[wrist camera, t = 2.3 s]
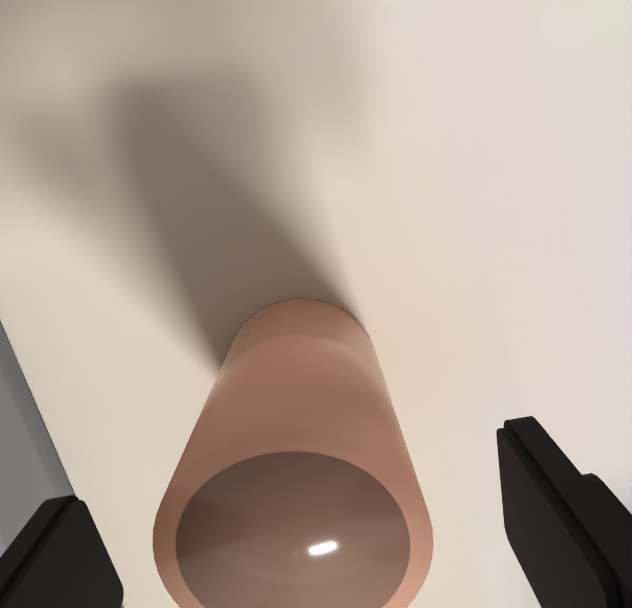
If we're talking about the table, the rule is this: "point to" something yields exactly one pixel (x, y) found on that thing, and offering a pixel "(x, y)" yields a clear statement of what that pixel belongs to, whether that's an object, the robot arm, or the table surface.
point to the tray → (23, 452)
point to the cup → (295, 477)
